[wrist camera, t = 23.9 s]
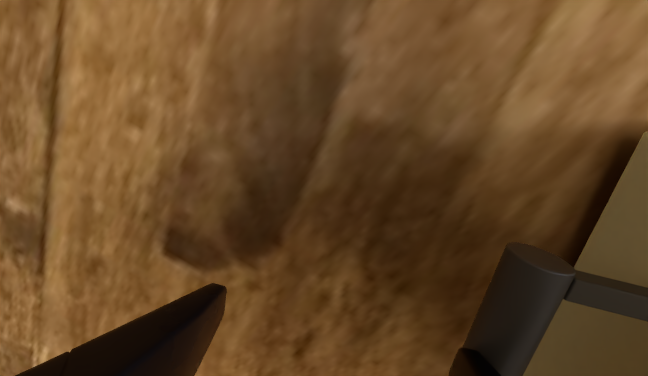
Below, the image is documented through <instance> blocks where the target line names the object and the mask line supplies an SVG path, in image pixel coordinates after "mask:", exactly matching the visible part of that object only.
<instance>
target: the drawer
mask: <svg viewBox="0 0 648 376" xmlns="http://www.w3.org/2000/svg"><path fill="white" fill-rule="evenodd" d="M463 347H465V348H469V349H473V350H476V351H478V352H479V353H480V354H481V355H482V356H483V357H484V358H485V359H486V360H487V361H488V362H489V363H490V364H491V365H492V366H493V367H494V368H495V369H496V370H497V371H498V372H499V373H500V374H501V375H502V376H648V132H644V133H643V135H642V137H641V139H640V141H639V143H638V145H637V147H636V149H635V151H634V152H633V154H632V156H631V158H630V160H629V162H628V164H627V166H626V168H625V170H624V172H623V174H622V176H621V178H620V179H619V181H618V183H617V185H616V187H615V189H614V191H613V193H612V195H611V197H610V199H609V201H608V203H607V205H606V206H605V208H604V210H603V212H602V214H601V216H600V218H599V220H598V222H597V224H596V226H595V228H594V230H593V232H592V233H591V235H590V237H589V239H588V241H587V243H586V245H585V247H584V249H583V251H582V253H581V255H580V257H579V259H578V260H577V262H576V264H575V266H574V268H573V267H572V266H571V265H570V264H569V263H567V262H566V261H565V260H563V259H561V258H560V257H558V256H556V255H554V254H552V253H550V252H548V251H545V250H543V249H540V248H538V247H535V246H531V245H528V244H523V243H517V242H511V243H508V244H507V245H506V247H505V249H504V252H503V254H502V256H501V259H500V261H499V263H498V266H497V268H496V270H495V273H494V275H493V277H492V280H491V282H490V284H489V287H488V289H487V291H486V294H485V296H484V298H483V301H482V303H481V305H480V308H479V310H478V312H477V315H476V317H475V319H474V322H473V324H472V326H471V329H470V331H469V333H468V336H467V338H466V340H465V343H464V345H463Z"/></svg>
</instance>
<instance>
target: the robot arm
mask: <svg viewBox="0 0 648 376" xmlns="http://www.w3.org/2000/svg"><path fill="white" fill-rule="evenodd" d="M226 293H227V289H226V287H225V286H223V285H219V284H215V283H211V284H209V285H206V286H204V287H202V288H200V289H198V290H196V291H194V292H192V293H190V294H187V295H185V296H183V297H181V298H179V299H177V300H175V301H173V302H171V303H169V304H166V305H164V306H162V307H160V308H158V309H156V310H154V311H152V312H150V313H147V314H145V315H143V316H141V317H139V318H137V319H135V320H133V321H131V322H129V323H126V324H124V325H122V326H120V327H118V328H116V329H114V330H112V331H110V332H107V333H105V334H103V335H101V336H99V337H97V338H95V339H93V340H91V341H89V342H86V343H84V344H82V345H80V346H78V347H76V348H74V349H72V350H71V351H70V352H65V353H63V354H61V355H59V356H57V357H55V358H52V359H50V360H48V361H46V362H44V363H42V364H40V365H37V366H35V367H33V368H31V369H29V370H26V371H24V372H22V373H20V374H18V375H15V376H194V375H195V373H196V371H197V369H198V367H199V365H200V363H201V361H202V359H203V357H204V355H205V353H206V351H207V349H208V347H209V345H210V343H211V341H212V339H213V337H214V335H215V333H216V330H217V328H218V326H219V324H220V322H221V320H222V318H223V315H224V310H225V302H226ZM449 376H502V375H501V374H500V373H499V372H498V371H497V370H496V369H495V368H494V367H493V366H492V365H491V364H490V363H489V362H488V361H487V360H486V359H485V358H484V357H483V356H482V355H481V354H480V353H479V352H478V351H476V350H473V349H469V348H465V347H461V348H460V349H459V350H458V352H457V354H456V356H455V359H454V361H453V363H452V366H451V368H450V371H449Z"/></svg>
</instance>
